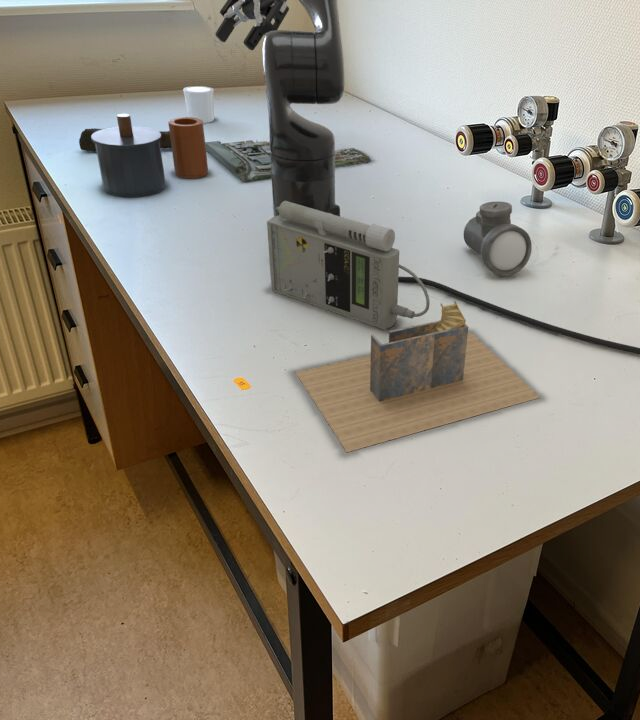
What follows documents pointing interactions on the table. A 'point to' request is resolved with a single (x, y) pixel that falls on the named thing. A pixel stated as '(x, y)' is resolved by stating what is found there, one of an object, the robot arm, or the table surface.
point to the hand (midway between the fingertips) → (233, 43)
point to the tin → (131, 170)
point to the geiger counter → (337, 264)
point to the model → (264, 158)
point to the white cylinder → (200, 102)
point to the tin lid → (126, 135)
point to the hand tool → (85, 136)
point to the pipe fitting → (498, 239)
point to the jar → (188, 147)
